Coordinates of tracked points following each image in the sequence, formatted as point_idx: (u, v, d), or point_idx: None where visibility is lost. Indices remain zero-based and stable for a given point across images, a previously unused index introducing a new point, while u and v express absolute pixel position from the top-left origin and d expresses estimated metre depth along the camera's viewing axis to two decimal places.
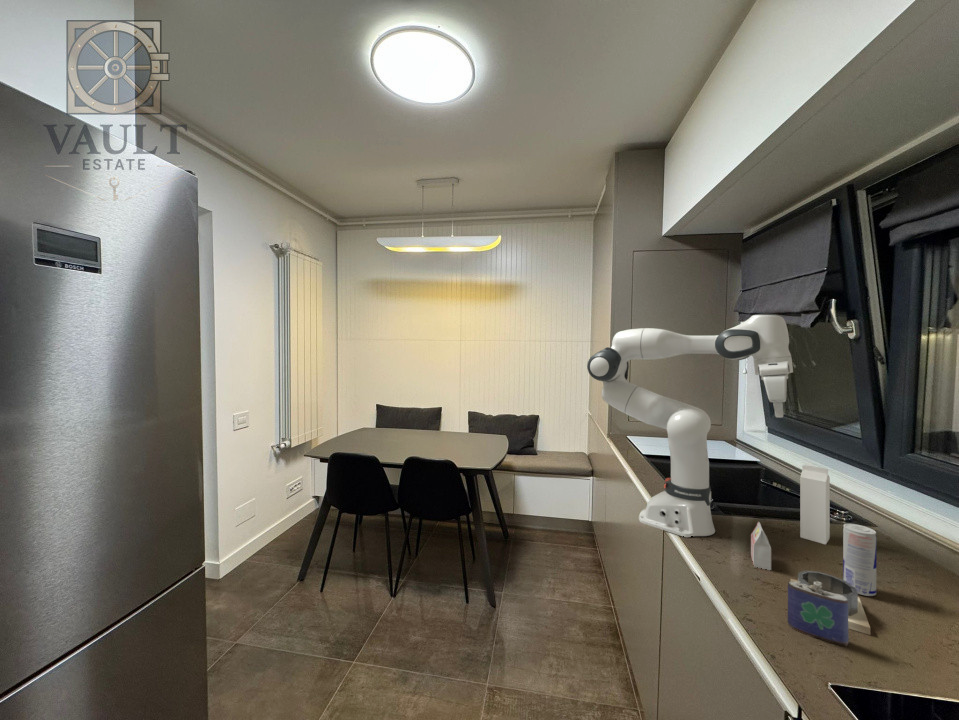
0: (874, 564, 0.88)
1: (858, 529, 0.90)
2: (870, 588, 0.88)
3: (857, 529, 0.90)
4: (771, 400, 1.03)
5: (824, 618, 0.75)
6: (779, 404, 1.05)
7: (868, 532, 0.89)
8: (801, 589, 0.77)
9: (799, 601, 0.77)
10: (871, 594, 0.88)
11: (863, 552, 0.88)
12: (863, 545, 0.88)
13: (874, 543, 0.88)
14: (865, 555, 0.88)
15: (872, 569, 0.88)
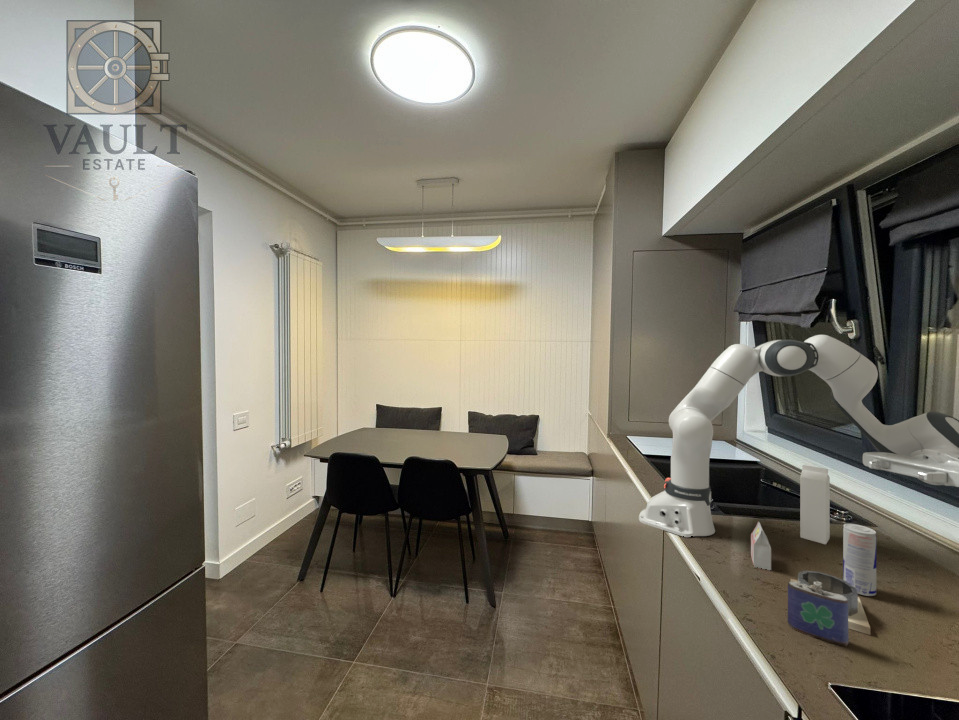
0: (874, 564, 0.88)
1: (858, 529, 0.90)
2: (870, 588, 0.88)
3: (857, 529, 0.90)
4: None
5: (824, 618, 0.75)
6: (944, 479, 0.88)
7: (868, 532, 0.89)
8: (801, 589, 0.77)
9: (799, 601, 0.77)
10: (871, 594, 0.88)
11: (863, 552, 0.88)
12: (863, 545, 0.88)
13: (874, 543, 0.88)
14: (865, 555, 0.88)
15: (872, 569, 0.88)
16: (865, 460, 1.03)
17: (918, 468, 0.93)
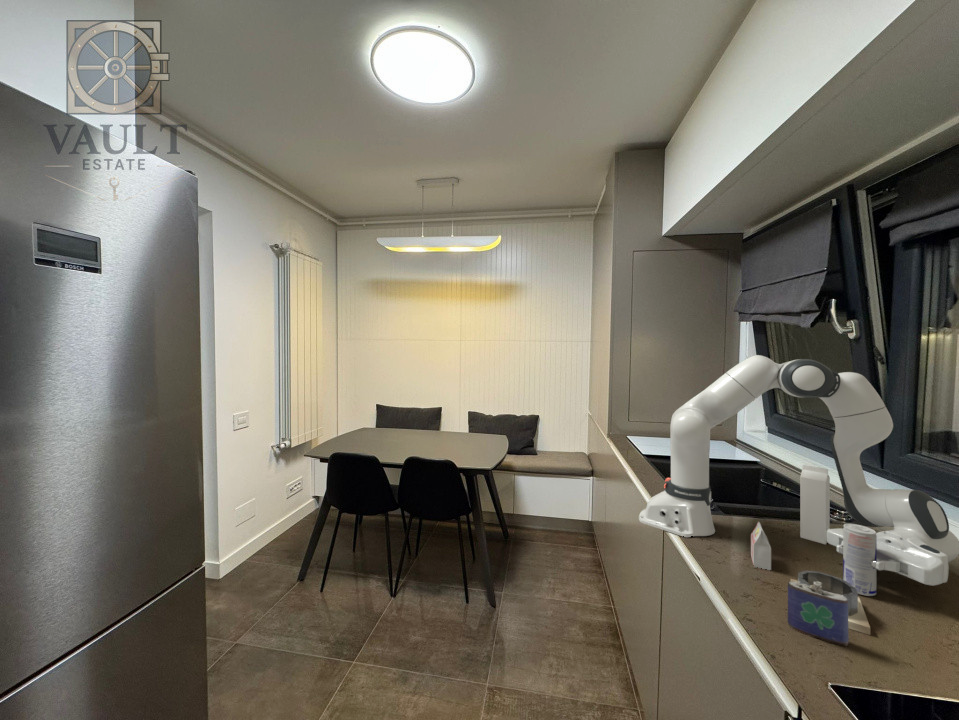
0: None
1: (858, 529, 0.90)
2: (870, 588, 0.88)
3: (857, 529, 0.90)
4: (928, 571, 0.82)
5: (824, 618, 0.75)
6: (897, 568, 0.86)
7: (868, 532, 0.89)
8: (801, 589, 0.77)
9: (799, 601, 0.77)
10: (871, 594, 0.88)
11: (863, 552, 0.88)
12: (863, 545, 0.88)
13: (874, 543, 0.88)
14: (865, 555, 0.88)
15: (872, 569, 0.88)
16: (828, 537, 1.00)
17: (879, 554, 0.90)
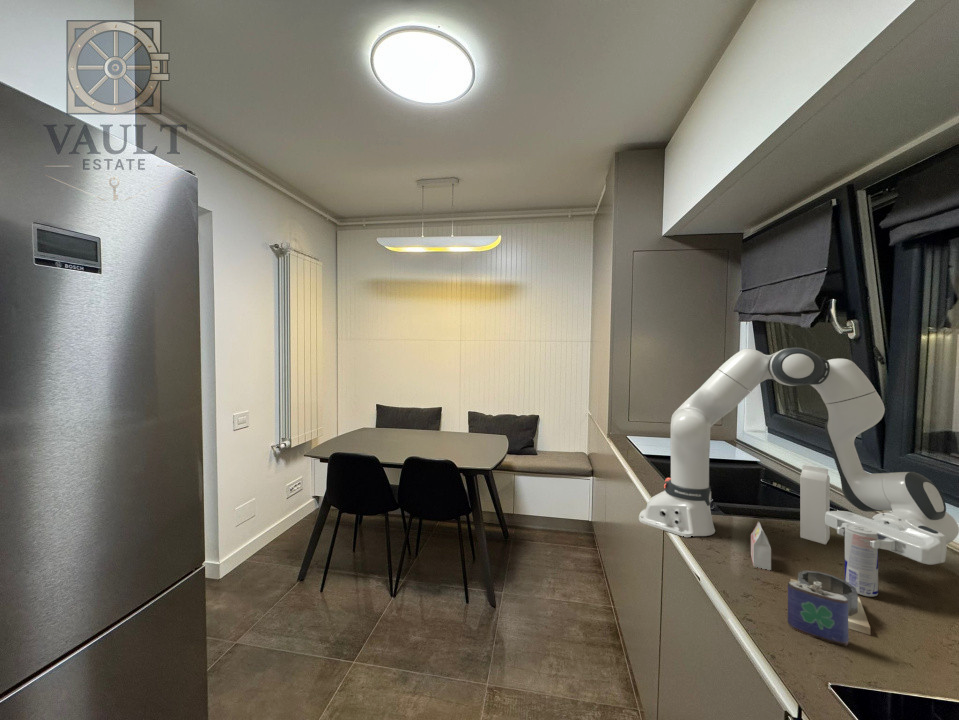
0: (877, 564, 0.88)
1: (860, 529, 0.89)
2: (873, 588, 0.87)
3: (859, 530, 0.89)
4: (926, 550, 0.82)
5: (824, 618, 0.75)
6: (892, 547, 0.86)
7: (870, 532, 0.88)
8: (801, 589, 0.77)
9: (799, 601, 0.77)
10: (874, 594, 0.87)
11: (867, 552, 0.88)
12: (867, 546, 0.88)
13: None
14: (869, 556, 0.87)
15: (875, 570, 0.87)
16: (827, 519, 1.00)
17: None
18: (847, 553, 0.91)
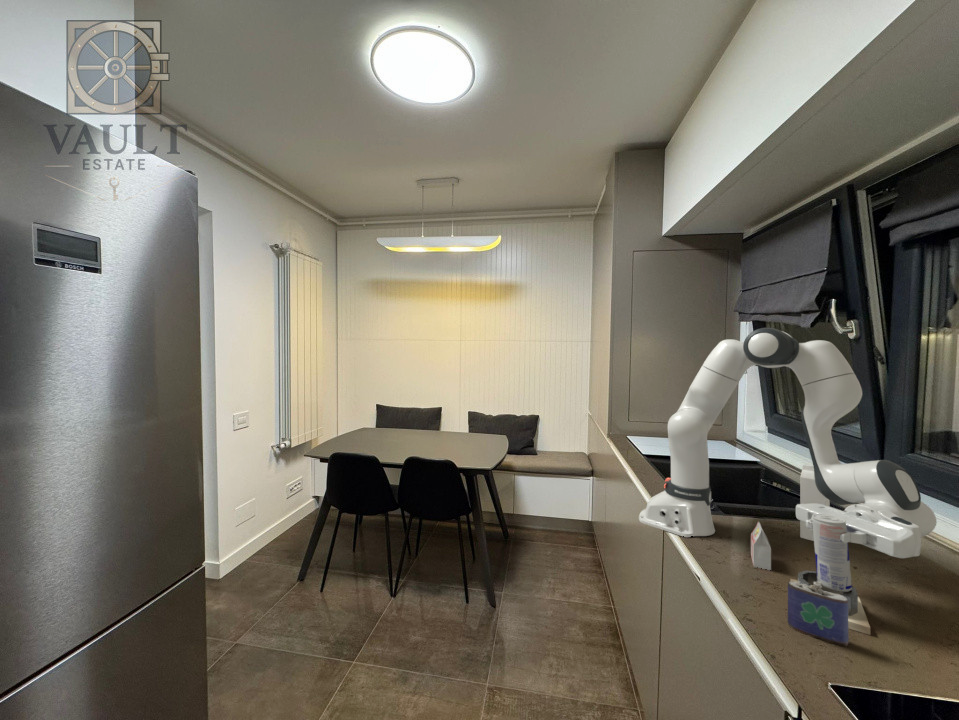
0: (847, 556, 0.81)
1: (828, 519, 0.83)
2: (846, 583, 0.81)
3: (827, 519, 0.83)
4: (898, 543, 0.76)
5: (824, 618, 0.75)
6: (863, 540, 0.80)
7: (838, 521, 0.82)
8: (801, 589, 0.77)
9: (799, 601, 0.77)
10: (848, 589, 0.81)
11: (836, 543, 0.81)
12: (835, 536, 0.81)
13: (845, 532, 0.81)
14: (838, 547, 0.81)
15: (846, 562, 0.81)
16: (797, 513, 0.94)
17: (848, 528, 0.84)
18: (816, 545, 0.84)
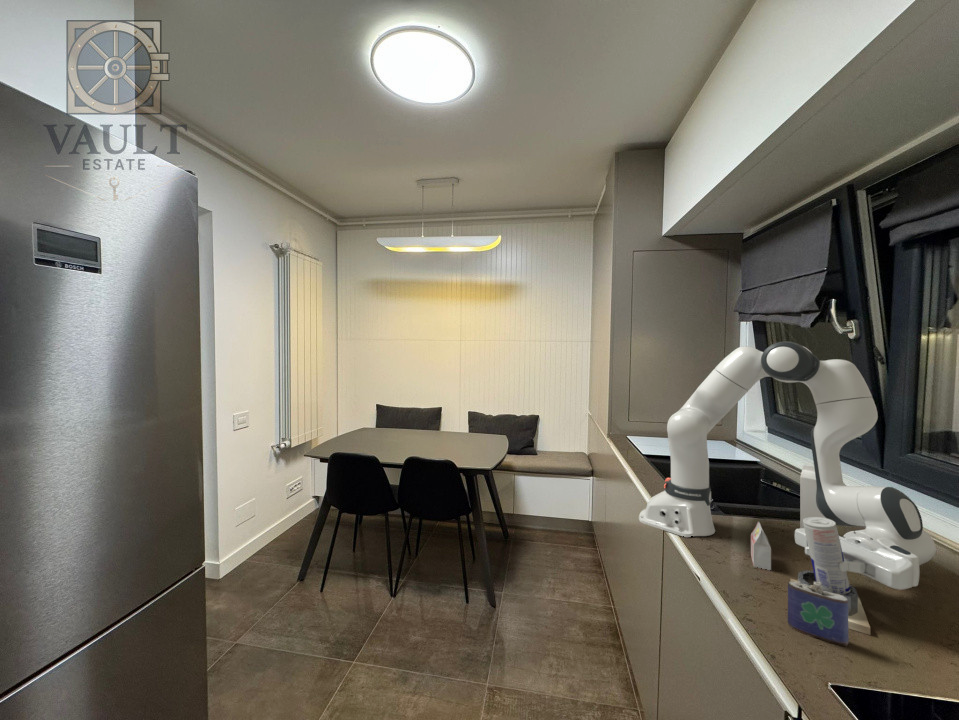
0: (842, 557, 0.82)
1: (819, 523, 0.84)
2: (845, 585, 0.81)
3: (818, 523, 0.84)
4: (896, 574, 0.76)
5: (824, 618, 0.75)
6: (861, 569, 0.80)
7: (828, 524, 0.83)
8: (801, 589, 0.77)
9: (799, 601, 0.77)
10: (847, 591, 0.81)
11: (831, 547, 0.81)
12: (829, 540, 0.82)
13: (837, 535, 0.82)
14: (833, 550, 0.81)
15: None
16: (796, 537, 0.94)
17: (847, 556, 0.84)
18: (812, 551, 0.84)
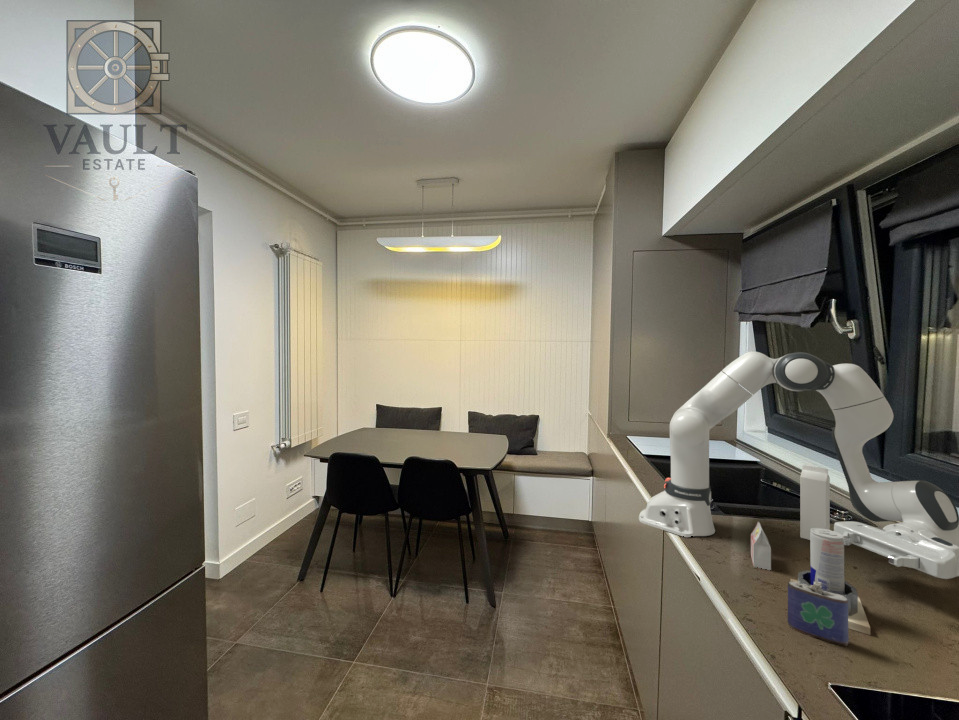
0: None
1: (828, 534, 0.84)
2: None
3: (827, 534, 0.84)
4: (941, 564, 0.79)
5: (824, 618, 0.75)
6: (916, 564, 0.82)
7: (837, 535, 0.83)
8: (801, 589, 0.77)
9: (799, 601, 0.77)
10: None
11: (837, 559, 0.82)
12: (837, 552, 0.82)
13: None
14: (839, 562, 0.82)
15: (843, 576, 0.82)
16: (836, 530, 0.97)
17: (889, 547, 0.87)
18: (816, 561, 0.84)
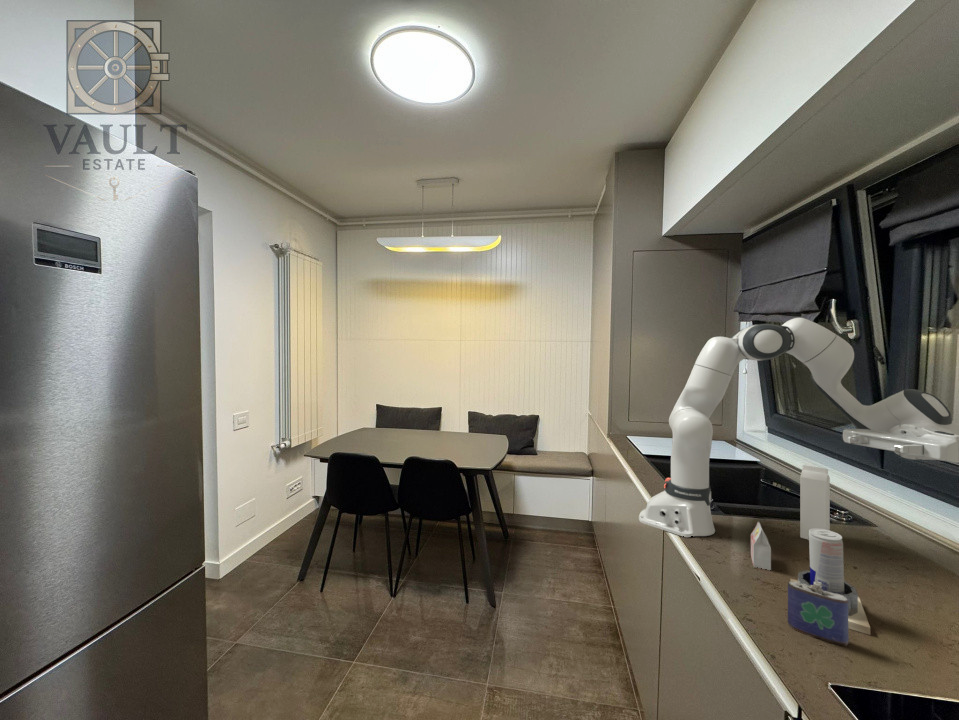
0: (843, 570, 0.83)
1: (826, 535, 0.83)
2: None
3: (826, 535, 0.83)
4: (944, 447, 0.86)
5: (824, 618, 0.75)
6: (920, 451, 0.88)
7: (835, 536, 0.83)
8: (801, 589, 0.77)
9: (799, 601, 0.77)
10: None
11: (837, 560, 0.82)
12: (836, 553, 0.82)
13: None
14: (838, 563, 0.82)
15: (843, 576, 0.82)
16: (845, 436, 1.04)
17: (895, 442, 0.94)
18: (815, 562, 0.84)
